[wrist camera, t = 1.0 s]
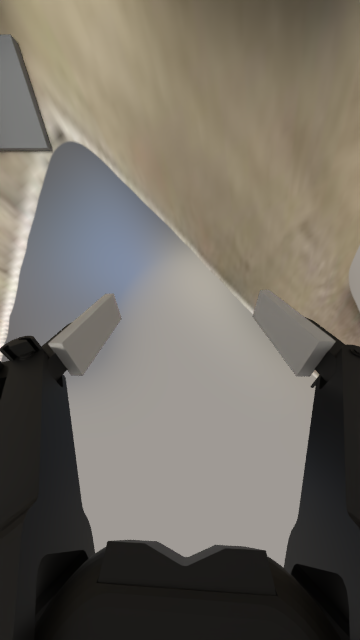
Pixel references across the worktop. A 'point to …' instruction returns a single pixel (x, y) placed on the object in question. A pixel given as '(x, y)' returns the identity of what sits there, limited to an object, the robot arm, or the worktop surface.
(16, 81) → the board
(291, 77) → the worktop surface
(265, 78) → the worktop surface
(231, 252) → the worktop surface
